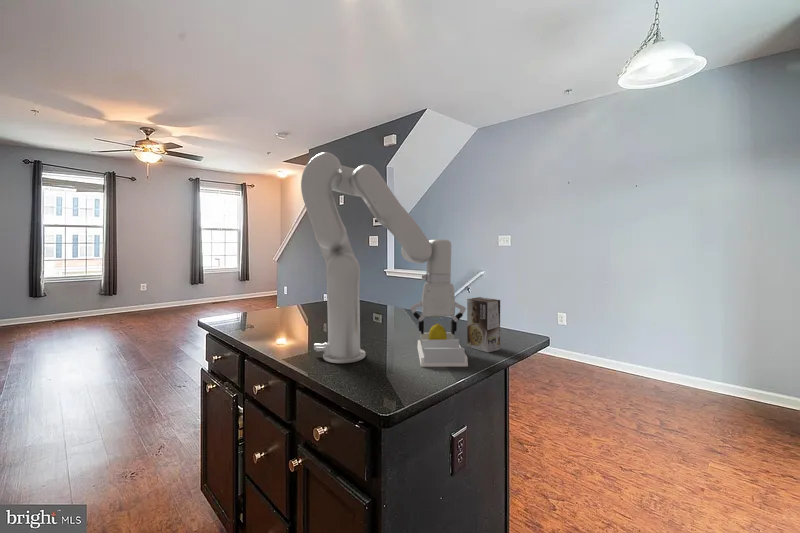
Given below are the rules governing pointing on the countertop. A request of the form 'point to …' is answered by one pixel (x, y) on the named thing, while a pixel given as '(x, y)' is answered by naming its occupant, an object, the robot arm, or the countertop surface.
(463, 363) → the dish rack
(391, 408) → the countertop surface
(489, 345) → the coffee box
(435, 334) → the lemon
